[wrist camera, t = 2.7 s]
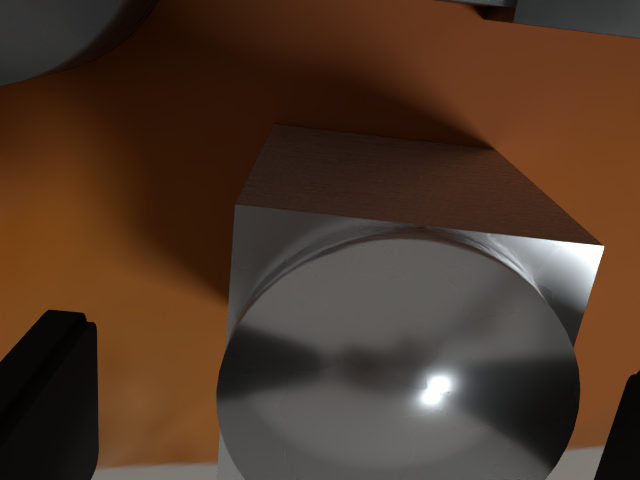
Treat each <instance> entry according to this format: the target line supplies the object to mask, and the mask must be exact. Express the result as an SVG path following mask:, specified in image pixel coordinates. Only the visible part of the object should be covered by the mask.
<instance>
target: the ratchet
mask: <svg viewBox="0 0 640 480" xmlns="http://www.w3.org/2000/svg"><path fill="white" fill-rule="evenodd" d="M158 1H159V0H0V86H3V85H7V84H11V83H16V82H20V81H24V80H28V79H32V78H36V77H40V76H44V75H48V74H52V73H56V72H60V71H64V70H68V69H72V68H75V67H78V66H80V65H83V64H85V63H88V62H91V61H93V60H95V59H97V58H99V57H100V56H102V55H104V54H106V53H107V52H109V51H111V50H113V49H114V48H115V47H116V46H118V45H119V44H120V43H121V42H123V41H124V40H125V39H127V38H128V37H129V36H130V35H131V34H132V33H133V32H134V31H135V30H136V29H137V28H138V27H139V26H140V25H141V24H142V22H143V21H144V20H145V19H146V18H147V17H148V15H149V14H150V12H151V11H152V9H153V8H154V6H155V5H156V4H157V2H158ZM435 1H444V2H452V3H460V4H468V5H476V6H484V7H487V9H486V14H485V19H484V20H492V21H500V22H508V23H517V24H525V25H533V26H541V27H549V28H558V29H566V30H574V31H582V32H590V33H599V34H607V35H615V36H623V37H631V38H640V0H435Z"/></svg>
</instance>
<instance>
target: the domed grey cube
mask: <svg viewBox="0 0 640 480" xmlns="http://www.w3.org/2000/svg"><path fill="white" fill-rule="evenodd" d="M603 249H604V246H603V245H602V244H601V243H600V242H599V241H598V240H597V239H596V238H594V237H593V236H592V235H591V234H590V233H589V232H588V231H587V230H585V229H584V228H583V227H582V226H581V225H580V224H579V223H578V222H576V221H575V220H574V219H573V218H572V217H571V216H570V215H569V214H568V213H566V212H565V211H564V210H563V209H562V208H561V207H560V206H559V205H557V204H556V203H555V202H554V201H553V200H552V199H551V198H550V197H548V196H547V195H546V194H545V193H544V192H543V191H542V190H541V189H539V188H538V187H537V186H536V185H535V184H534V183H533V182H532V181H530V180H529V179H528V178H527V177H526V176H525V175H524V174H523V173H522V172H520V171H519V170H518V169H517V168H516V167H515V166H514V165H513V164H511V163H510V162H509V161H508V160H507V159H506V158H505V157H504V156H502V155H501V154H500V153H499V152H498V151H497V150H494V149H486V148H477V147H468V146H460V145H451V144H443V143H434V142H426V141H417V140H408V139H400V138H391V137H383V136H374V135H366V134H357V133H348V132H340V131H331V130H323V129H314V128H306V127H297V126H288V125H280V124H274V125H273V127H272V129H271V131H270V133H269V135H268V137H267V139H266V141H265V143H264V145H263V147H262V150H261V152H260V154H259V156H258V158H257V160H256V162H255V164H254V166H253V168H252V170H251V172H250V174H249V177H248V179H247V181H246V183H245V185H244V187H243V189H242V191H241V193H240V195H239V197H238V199H237V201H236V204H235V213H234V228H233V243H232V258H231V273H230V289H229V304H228V319H227V334H226V349H225V354H224V358H223V361H222V364H221V368H220V371H219V377H218V385H217V415H218V420H219V426H220V440H219V456H218V471H217V472H218V473H217V480H545V479H546V478H547V476H548V475H549V474H550V473H551V471H552V470H553V468H554V467H555V466H556V464H557V463H558V461H559V460H560V458H561V456H562V454H563V453H564V451H565V449H566V447H567V445H568V442H569V440H570V437H571V435H572V433H573V430H574V427H575V422H576V418H577V414H578V410H579V399H580V380H579V369H578V365H577V361H576V356H575V352H574V349H573V347H574V344H575V341H576V338H577V334H578V331H579V328H580V324H581V321H582V318H583V315H584V311H585V308H586V305H587V302H588V298H589V295H590V292H591V288H592V285H593V282H594V279H595V275H596V272H597V269H598V265H599V262H600V259H601V256H602V252H603Z"/></svg>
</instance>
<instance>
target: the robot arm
mask: <svg viewBox="0 0 640 480" xmlns="http://www.w3.org/2000/svg"><path fill="white" fill-rule="evenodd" d="M98 453H99V438H98V373H97V328H96V324H95V323H94V322H87V320H86V316H85V314H84V313H79V312H69V311H58V310H48V311H46V312H45V313H44V314H43V315H42V316H41V317H40V319H39V320H38V321H37V322H36V323H35V324H34V325H33V326H32V327H31V329H30V330H29V331H28V332H27V333H26V334H25V335H24V336H23V337H22V339H21V340H20V341H19V342H18V343H17V344H16V345H15V346H14V347H13V348H12V350H11V351H10V352H9V353H8V354H7V355H6V356H5V357H4V358H3V360H2V361H1V362H0V480H91V478H92V476H93V474H94V472H95V469H96V465H97V461H98ZM594 480H640V371H639V372H638V373H637V374H634V375H631V376H630V377H629V379H628V381H627V383H626V386H625V389H624V392H623V395H622V398H621V401H620V404H619V407H618V410H617V413H616V416H615V419H614V422H613V424H612V427H611V430H610V433H609V436H608V439H607V442H606V445H605V448H604V451H603V454H602V457H601V460H600V463H599V466H598V470H597V472H596V475H595V478H594Z"/></svg>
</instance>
